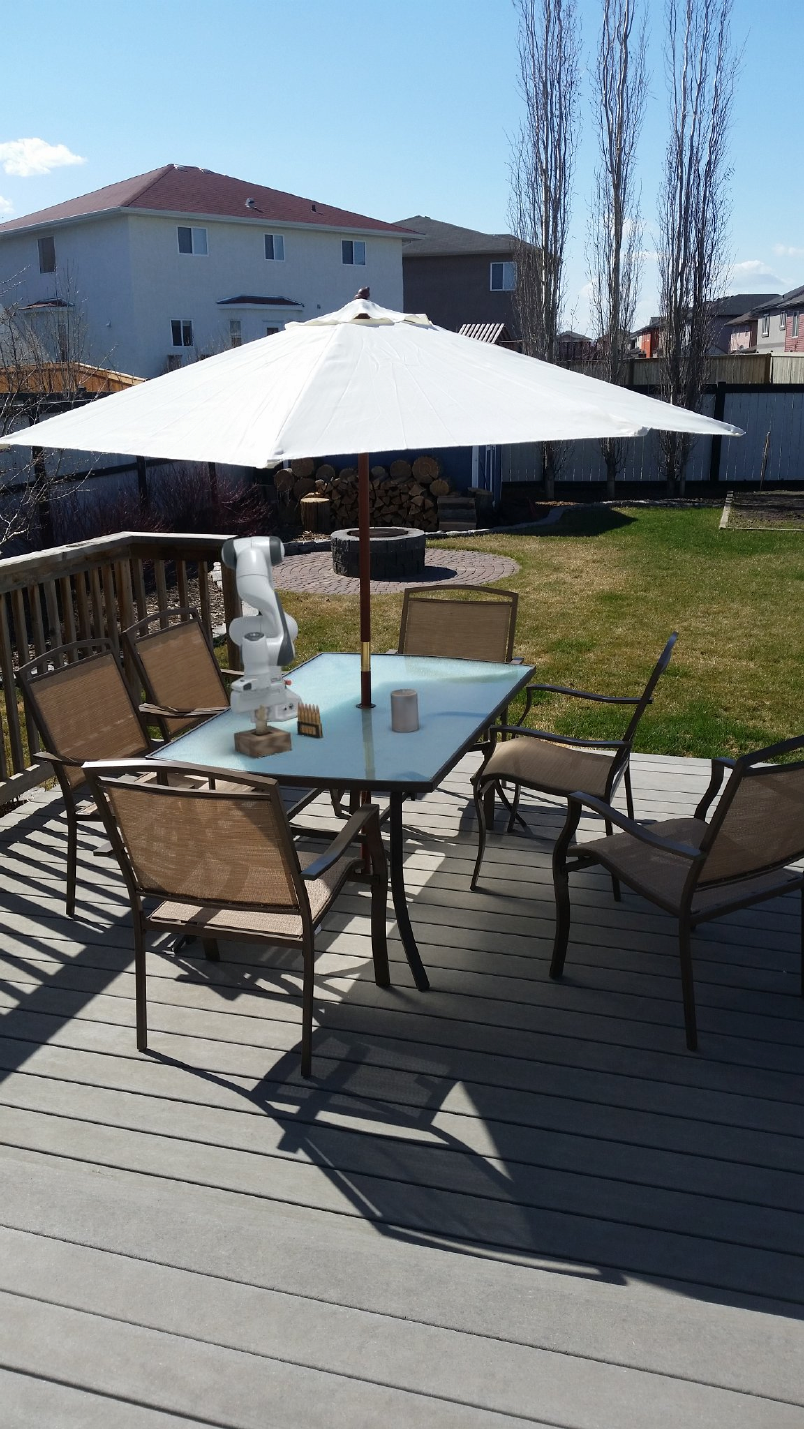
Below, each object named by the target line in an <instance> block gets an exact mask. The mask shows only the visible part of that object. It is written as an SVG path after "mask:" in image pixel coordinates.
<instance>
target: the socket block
mask: <svg viewBox="0 0 804 1429" xmlns="http://www.w3.org/2000/svg"><path fill="white" fill-rule="evenodd" d="M267 728H268V733H266V734H256V727H255V728H251V729H247V730H243V731H239V732H235V733H233V738H234V739H233V740H234V741H233V742H234V748H235V749H234V750H235V751H236V752H238V751H239V753H241V754H243V753H244V755H246V756H248V755H249V757H250V758H253V759H255V758H257V759H260V758H259V757H261V758H263V757H262V756H265V755H269V756H271V755H270V754H273V755H276V754H275V753H277V754H280V753H285V752H289V751H292V750H293V749H292V738H291V736H292V734H291V732H288V731H286V730H283V729H281V728H277V727H274V726H272V725H269V724H268V725H267ZM265 757H266V756H265Z"/></svg>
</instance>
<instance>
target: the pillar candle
mask: <svg viewBox="0 0 804 1429" xmlns="http://www.w3.org/2000/svg"><path fill="white" fill-rule="evenodd" d="M418 702H419V701H418V691H417V690H415V689H412V688H402V689H395V690H392V691H390V711H391V712H390V713H391V729H392V731H393V732H395V733H400V734H401V733H402V734H404V733H405V734H406V733H412V732H416V731H418V730H419V729H420V725H419V724H420V722H419V720H420V718H419V703H418Z"/></svg>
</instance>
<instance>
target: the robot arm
mask: <svg viewBox="0 0 804 1429" xmlns="http://www.w3.org/2000/svg"><path fill="white" fill-rule="evenodd" d="M284 556H285V547H284V544H283V542H282V539H281V538H279V537H278V536H273V535H270V536H258V535H257V536H251V537H242V538H237V539H233V538H231V539H229V540H226V541H225V542H224V543H223V546H222V549H221V558H222V561H223V563H224V565H225V567H227V568H228V569H231V570H236V571H235V572H236V573H235V575H236V576H235V577H236V578H235V579H236V588H237V593H238V596H239V597H240V599H242V601H244V602H245V603H246V604H248V606H250V607H251V608H254V609H256V610H258V611H259V612H260V613H261V614H262V615H245V616H240V617H236V618H234V619H233V620H232V621H231V622H230V625H229V628H228V632H229V633H228V634H229V637H230V639H231V640H232V641H233V643H234V644H236V645H237V646H238V651H239V652H238V653H239V663H241V664H242V665H243V666H244V669H243V676H241V677H240V678H238V679H237V680H234V681H233V682H232V683H231V685H230V688H231V689H232V691H231V693H230V710H231V711H232V712H233V713H234V714H241V713H246V714H247V715H248V717H249V718H250V723H251V724H255V723H256V722H257V717H255V714H254V710H257V709H260V705H265V708H266V715H267V722H272V721H273V722H276V721H277V722H283V721H287V720H290V719H294V718H297V717H298V715H297V713H298V702H299V703H300V705H302V703H303V704H304V702H303V700H302V697H301V696H300V695H299V694H297V693H296V692H295V691H292V690H291V689H289V688H288V687H287V686H291V685H292V681H291V680H290V679H284V678H283V674H282V667H288V666H290V664H292V663H293V662H294V660H295V658H296V657H295V656H296V648H295V646H294V643H293V642H294V641H295V640H296V638H297V637H298V632H299V627H298V623H297V621H296V620H295V619H294V617H292V616H291V615H289V614H288V613H287V612H286V611H285V610H284V607H283V603H282V599H281V597H280V595H279V593H278V592H276V591H275V584H274V582H275V581H274V575H273V569H272V567H275V566H279V565H281V563H282V562H283V560H284ZM304 708H305V706H304ZM308 712H309V711H308ZM296 716H297V717H296Z"/></svg>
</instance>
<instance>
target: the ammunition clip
mask: <svg viewBox="0 0 804 1429" xmlns="http://www.w3.org/2000/svg"><path fill="white" fill-rule="evenodd" d="M304 707H305V708H304ZM308 711H309V712H308ZM320 714H321V713H320V708H319V705H318V704H316V707H315V704H312V705H311V703H309V705H308V703H307V702H306V703H305V704H304V702H303V703H302V705H300V703H299V702H298V713H297V715H298V716H297V721H296V726H297V735H298V736H302V735H304V736H303V737H308V738H313V739H319V740H320V739H322V738H324V734H323V723H321V721H322V720H321V715H320Z"/></svg>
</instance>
